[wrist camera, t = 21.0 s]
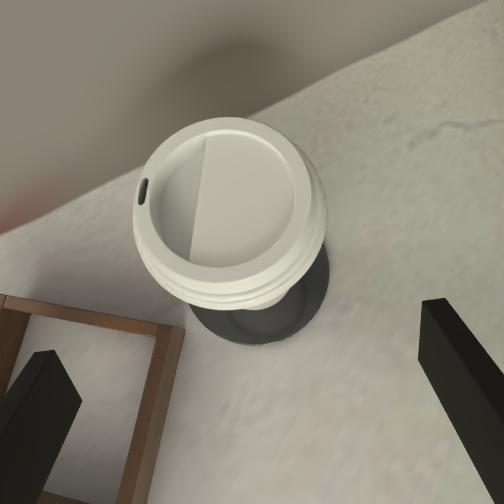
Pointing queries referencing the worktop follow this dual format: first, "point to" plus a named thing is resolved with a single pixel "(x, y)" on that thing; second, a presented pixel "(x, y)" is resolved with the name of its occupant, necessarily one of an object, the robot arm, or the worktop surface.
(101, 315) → the square wooden frame
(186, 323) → the worktop surface
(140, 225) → the coffee cup
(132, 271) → the worktop surface
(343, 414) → the worktop surface
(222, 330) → the slate coaster
